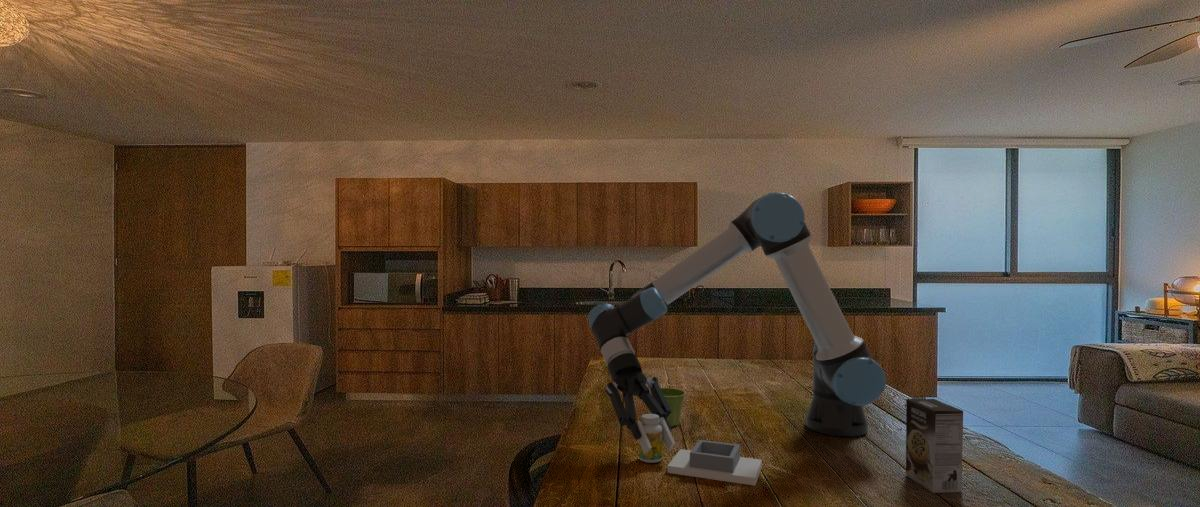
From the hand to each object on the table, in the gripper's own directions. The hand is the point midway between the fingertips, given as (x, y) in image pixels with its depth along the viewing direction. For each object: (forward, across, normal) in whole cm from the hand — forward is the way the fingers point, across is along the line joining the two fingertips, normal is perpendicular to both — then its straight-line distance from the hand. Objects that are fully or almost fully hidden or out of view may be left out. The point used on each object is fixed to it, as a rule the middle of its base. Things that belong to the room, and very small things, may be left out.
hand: (659, 448), depth 128 cm
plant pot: (-14, -19, -20) cm, 31 cm away
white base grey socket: (+8, -9, +3) cm, 12 cm away
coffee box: (+27, -43, +21) cm, 55 cm away
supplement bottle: (0, 0, -5) cm, 5 cm away
